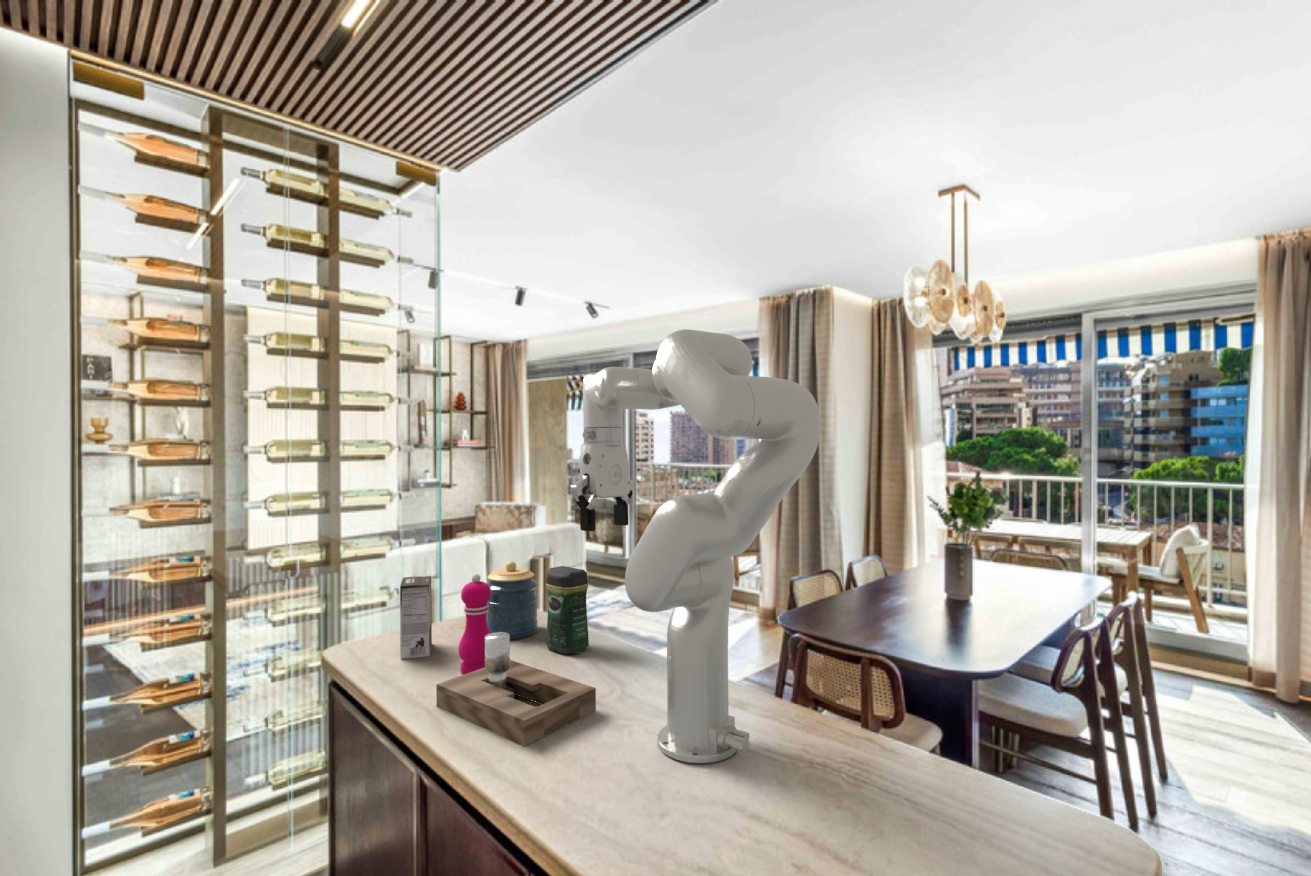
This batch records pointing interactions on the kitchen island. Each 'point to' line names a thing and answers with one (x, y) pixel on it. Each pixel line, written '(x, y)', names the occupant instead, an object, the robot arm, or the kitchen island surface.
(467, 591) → the pepper mill
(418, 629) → the coffee box
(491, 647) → the steel peg
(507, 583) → the canister
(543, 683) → the keyhole board
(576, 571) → the coffee jar
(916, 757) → the kitchen island surface
